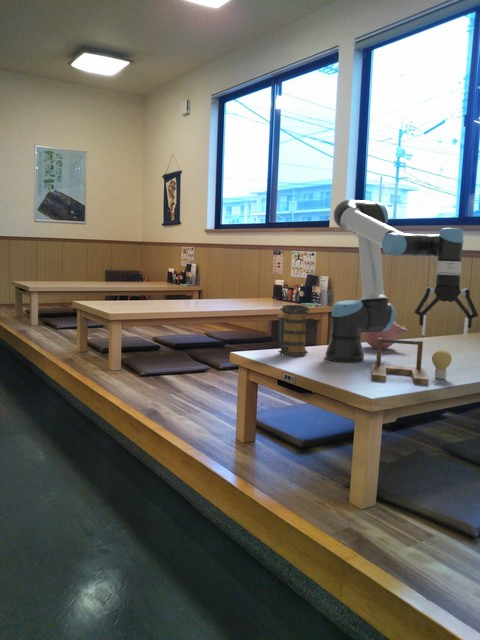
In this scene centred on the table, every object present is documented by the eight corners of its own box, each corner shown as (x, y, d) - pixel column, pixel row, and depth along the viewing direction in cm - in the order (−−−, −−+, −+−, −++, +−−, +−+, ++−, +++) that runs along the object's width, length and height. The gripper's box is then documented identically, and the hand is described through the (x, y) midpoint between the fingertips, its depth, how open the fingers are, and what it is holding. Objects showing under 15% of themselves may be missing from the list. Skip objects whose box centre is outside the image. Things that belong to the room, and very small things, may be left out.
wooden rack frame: (372, 380, 182) (374, 345, 180) (372, 369, 199) (374, 337, 198) (428, 385, 178) (431, 349, 176) (423, 373, 195) (426, 340, 193)
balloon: (399, 354, 230) (402, 318, 228) (356, 348, 242) (358, 314, 240) (412, 349, 242) (414, 316, 240) (370, 344, 254) (372, 311, 252)
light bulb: (434, 375, 193) (436, 347, 191) (452, 378, 188) (454, 350, 187) (427, 378, 188) (429, 350, 186) (446, 381, 184) (448, 352, 182)
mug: (315, 354, 224) (317, 306, 222) (289, 360, 212) (291, 309, 209) (290, 350, 233) (292, 304, 230) (264, 355, 221) (266, 306, 218)
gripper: (410, 273, 183) (406, 335, 185) (490, 275, 177) (485, 339, 179) (409, 272, 190) (405, 332, 192) (485, 275, 184) (480, 336, 187)
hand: (444, 336), depth 186 cm, fingers open, 13 cm apart
